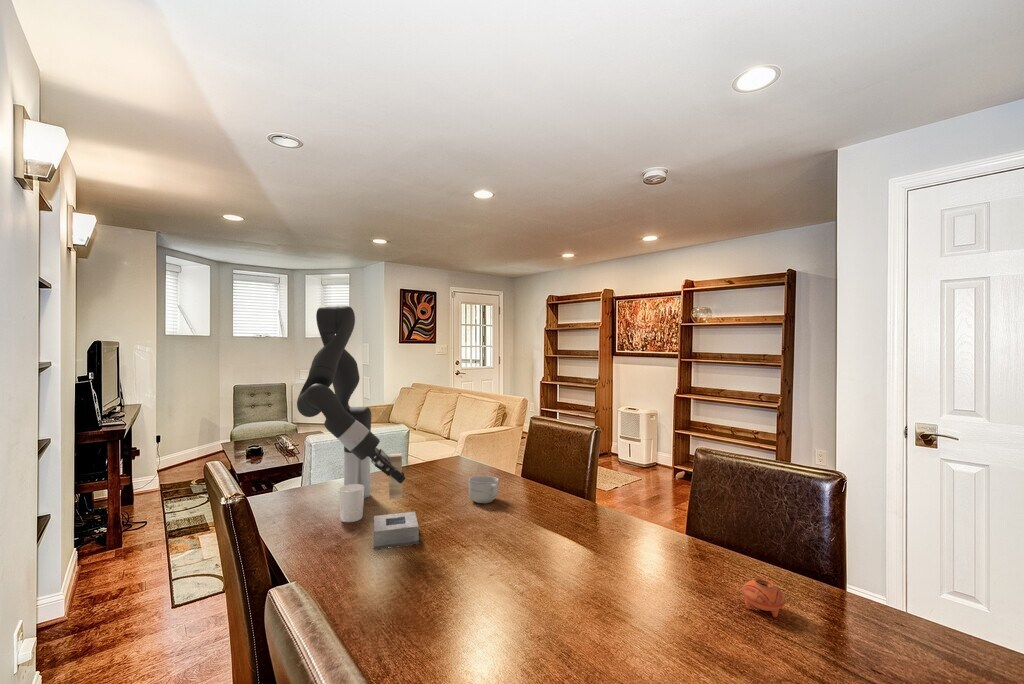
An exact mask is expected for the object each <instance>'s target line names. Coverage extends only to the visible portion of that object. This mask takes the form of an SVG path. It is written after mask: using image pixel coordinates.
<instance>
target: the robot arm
mask: <svg viewBox="0 0 1024 684" xmlns="http://www.w3.org/2000/svg"><path fill="white" fill-rule="evenodd" d="M315 315H316V316H315V317H316V320H315V321H316V325H317V330H318V332H319V335H320V338H321V342H322V345H323V346H322V347H321V348H320V349H319V350H318V352H317V353H316V354H315V356H313V360H312V362H311V364H310V368H309V371H308V375H307V377H306V380H305V382H304V384H303V386H302V388H301V390H300V391H299V394H298V397H297V400H296V409H297V410H298V412H299V414H300V415H302V416H303V417H306V418H313V417H316V416H318V415H319V414H320V413H321V414H322V415H323V416H324V418H325V421H324V423H323V426H324V428H325V429H326V430H327V431H328V432H330V434H332V435H333V436H334V437H335V438H336V439H337V440H338V441H339V442H340V443H341V444H342V445H343V460H344V461H343V475H344V476H343V479H344V480H343V486H345V485H350V484H361V485H364V500H365V499H367V497H368V498H369V497H371V463H372V464H373V465H374V467H375V468H377V469H379V470H380V471H381V472H382V473H384V474H385V475H386V476H388V477H389V476H392V477H393V478H394V479H395V480H396V481H397V482H399V483H403V482H404V481H405V480H406V477H405V473H404V472H403V471H402V474H401V473H400V472H399V471H398V470H397V469H396V467H394V466H393V465H392V464H391V461H390V460H389V454H387V453H386V452H385V451H384V450H383V449H382V448H378V446H379V444H380V442H381V439H380V438H378V436H376V435H375V434H374V433H373V432H372V431H371V430H372V410H371V408H369V407H368V406H350V405H349V401H350V400H351V397H352V395H353V393H354V392H355V390H356V388H357V387H358V385H359V382H360V371H359V368H358V362H357V361H356V359H355V358H354V356H352V355H351V353H350V352H349V351H347V350H346V347H347V345H348V343H349V340H350V338H351V336H352V333H353V332H354V328H355V324H356V315H355V311H354V309H353V308H352V307H351V306H349V305H321V306H319V307H318V308H317V310H316V314H315ZM331 385H332V387H333V390H334V391H333V390H332V389H331V388H330V387H331ZM389 468H390V470H389Z"/></svg>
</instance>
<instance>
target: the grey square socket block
mask: <svg viewBox="0 0 1024 684" xmlns="http://www.w3.org/2000/svg"><path fill="white" fill-rule="evenodd" d="M419 531H420V530H419V523H418V519H417V514H416V511H409V512H407V511H406V512H399V513H389V514H381V515H374V516H373V534H374V535H373V550H374V549H378V550H382V549H381V548H386V549H389V548H388V547H393V548H398V547H397V546H401V547H407V546H406V545H409V546H414V545H413V544H416V545H419V544H420V542H419V541H420V540H419V538H420V535H419Z"/></svg>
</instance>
